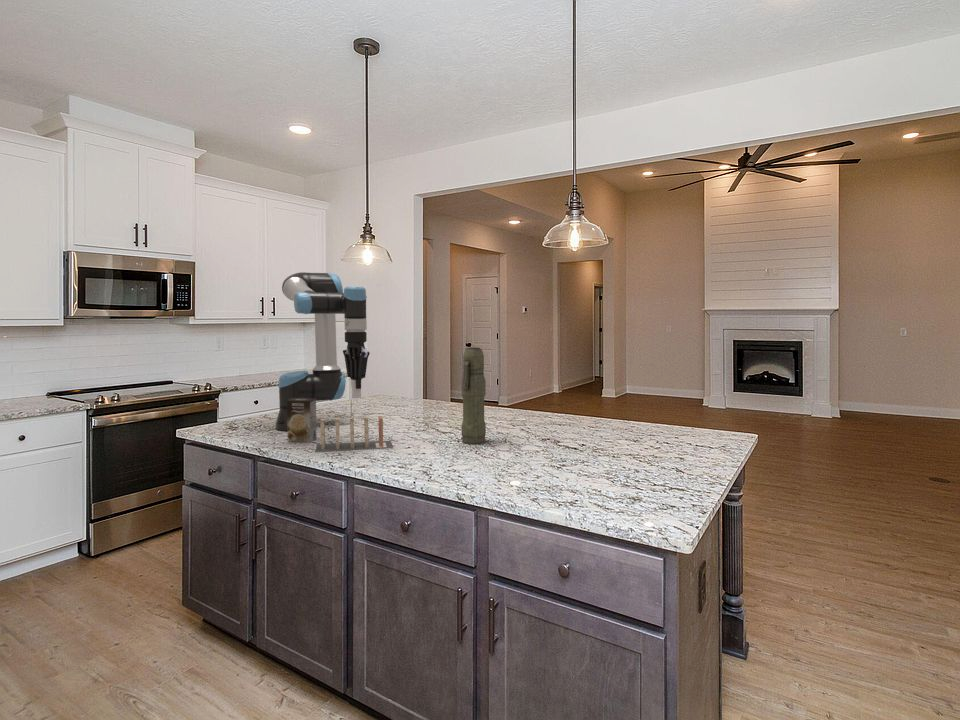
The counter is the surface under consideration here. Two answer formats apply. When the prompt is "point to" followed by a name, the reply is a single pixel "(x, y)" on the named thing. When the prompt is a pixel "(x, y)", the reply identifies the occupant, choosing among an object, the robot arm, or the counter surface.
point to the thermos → (473, 397)
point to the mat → (356, 446)
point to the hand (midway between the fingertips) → (356, 397)
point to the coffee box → (301, 420)
